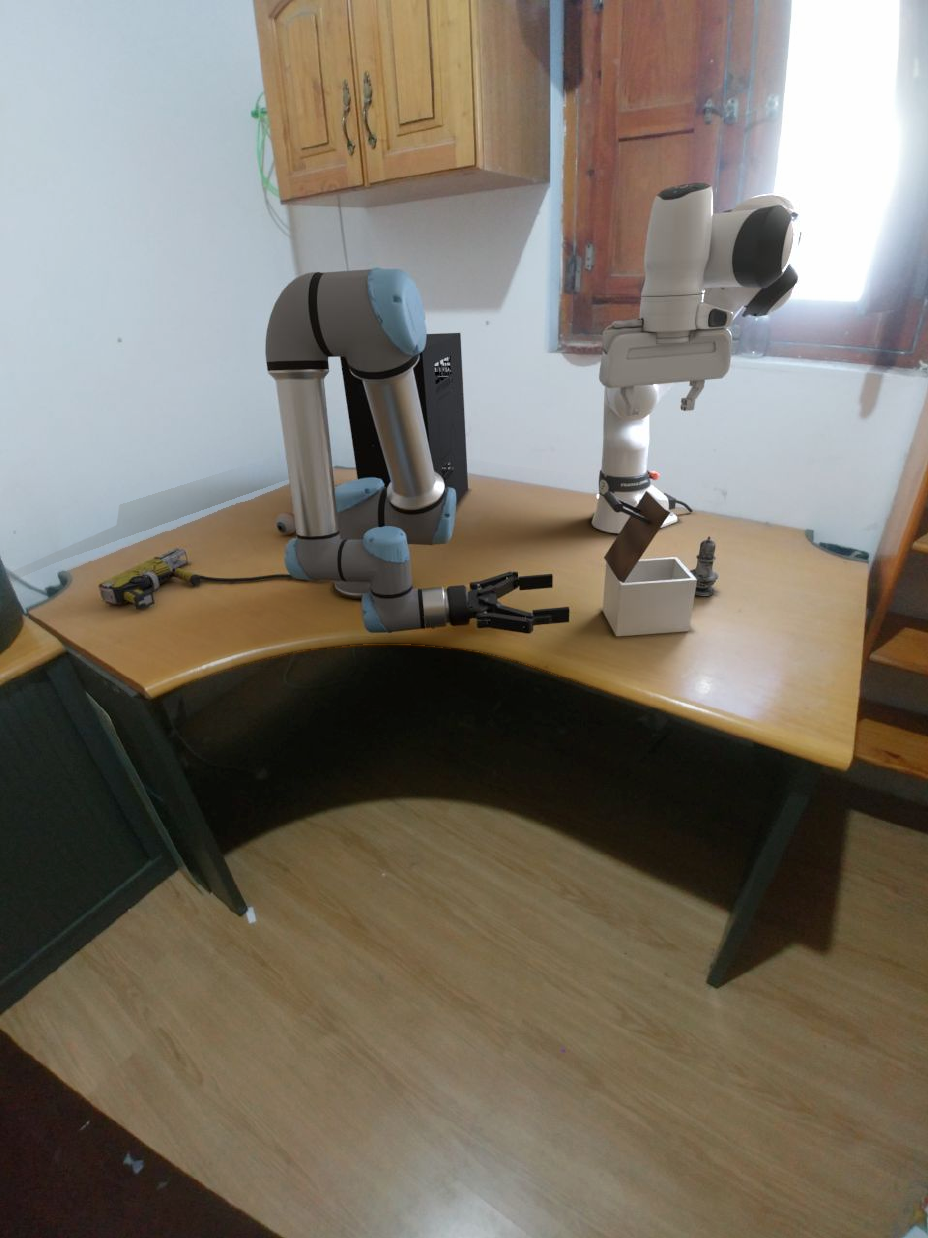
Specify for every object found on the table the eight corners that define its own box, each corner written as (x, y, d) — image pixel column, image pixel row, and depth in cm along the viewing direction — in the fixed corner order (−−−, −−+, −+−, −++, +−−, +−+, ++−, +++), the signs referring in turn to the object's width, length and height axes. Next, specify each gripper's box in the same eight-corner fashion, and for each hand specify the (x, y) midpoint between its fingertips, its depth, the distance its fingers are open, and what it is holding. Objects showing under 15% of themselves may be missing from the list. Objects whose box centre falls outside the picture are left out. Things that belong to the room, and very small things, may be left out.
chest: (670, 605, 121) (676, 556, 115) (688, 631, 112) (697, 579, 107) (602, 610, 120) (606, 561, 115) (616, 636, 112) (620, 585, 106)
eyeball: (273, 537, 164) (268, 516, 161) (287, 528, 169) (282, 508, 166) (291, 539, 161) (286, 518, 158) (305, 530, 166) (301, 510, 163)
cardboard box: (436, 534, 159) (422, 349, 137) (364, 531, 164) (339, 351, 141) (468, 489, 191) (460, 332, 168) (407, 487, 195) (391, 335, 173)
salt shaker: (717, 597, 122) (727, 542, 116) (687, 595, 123) (695, 541, 117) (713, 584, 127) (722, 531, 121) (684, 583, 128) (692, 530, 122)
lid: (651, 493, 109) (611, 473, 106) (670, 512, 100) (628, 491, 98) (608, 559, 115) (570, 542, 113) (623, 583, 106) (582, 565, 104)
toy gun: (224, 556, 146) (173, 545, 150) (148, 597, 126) (92, 584, 130) (226, 573, 148) (177, 563, 152) (152, 617, 128) (97, 603, 132)
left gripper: (444, 593, 124) (545, 584, 125) (453, 660, 103) (575, 649, 104) (441, 560, 120) (546, 551, 122) (450, 622, 99) (577, 611, 100)
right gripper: (612, 322, 86) (605, 422, 93) (744, 313, 88) (728, 410, 95) (595, 320, 91) (590, 414, 98) (720, 311, 94) (707, 403, 101)
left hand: (560, 596), depth 113 cm, fingers open, 13 cm apart
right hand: (659, 412), depth 97 cm, fingers open, 8 cm apart
